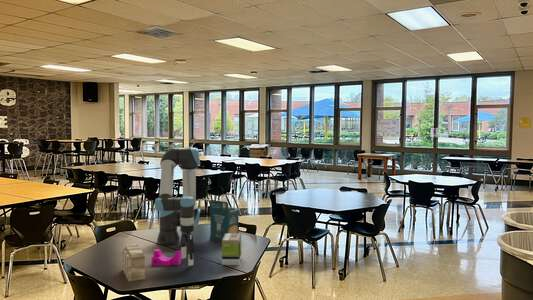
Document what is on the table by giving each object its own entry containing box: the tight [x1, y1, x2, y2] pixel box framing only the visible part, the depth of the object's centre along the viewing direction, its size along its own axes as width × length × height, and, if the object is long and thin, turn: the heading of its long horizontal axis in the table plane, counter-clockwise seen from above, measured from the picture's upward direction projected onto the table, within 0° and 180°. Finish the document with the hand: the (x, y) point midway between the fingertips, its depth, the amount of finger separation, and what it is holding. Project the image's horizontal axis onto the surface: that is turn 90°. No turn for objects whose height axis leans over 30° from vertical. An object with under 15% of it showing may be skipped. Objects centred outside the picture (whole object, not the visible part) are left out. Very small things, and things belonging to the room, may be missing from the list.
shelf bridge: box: [122, 243, 146, 282], centre depth 210 cm, size 18×8×14 cm, turn 28°
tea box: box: [221, 232, 242, 266], centre depth 233 cm, size 15×10×15 cm, turn 178°
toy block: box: [151, 248, 182, 267], centre depth 227 cm, size 15×6×8 cm, turn 82°
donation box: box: [209, 199, 240, 243], centre depth 280 cm, size 16×16×28 cm
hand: (187, 261), depth 228 cm, fingers open, 13 cm apart
